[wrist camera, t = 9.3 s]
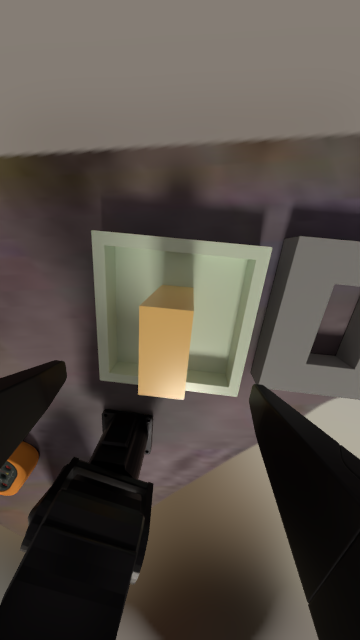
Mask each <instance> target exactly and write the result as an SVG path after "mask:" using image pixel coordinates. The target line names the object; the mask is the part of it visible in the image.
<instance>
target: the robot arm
mask: <svg viewBox="0 0 360 640" xmlns="http://www.w3.org/2000/svg"><path fill="white" fill-rule="evenodd" d="M66 378H67V373H66V365H65V362H64V361H58V360H54V361H51V362H48V363H45V364H42V365H39V366H36V367H33V368H30V369H27V370H24V371H21V372H18V373H15V374H12V375H9V376H6V377H3V378H0V469H1V468H2V466H3V465H4V464H5V463H6V461H7V460H8V459H9V457H10V456H11V455H12V454H13V452H14V451H15V450H16V449H17V447H18V446H19V445H20V443H21V442H22V441H23V440H24V438H25V437H26V436H27V434H28V433H29V432H30V431H31V429H32V428H33V427H34V426H35V424H36V423H37V422H38V420H39V419H40V418H41V417H42V415H43V414H44V413H45V411H46V410H47V409H48V407H49V406H50V404H51V403H52V401H53V399H54V398H55V396H56V395H57V393H58V392H59V390H60V389H61V387H62V386H63V384H64V382H65V381H66ZM249 404H250V409H251V414H252V419H253V424H254V429H255V434H256V438H257V441H258V445H259V447H260V451H261V454H262V457H263V461H264V464H265V467H266V470H267V474H268V477H269V480H270V483H271V486H272V489H273V493H274V496H275V499H276V503H277V506H278V509H279V512H280V515H281V518H282V522H283V525H284V528H285V532H286V535H287V538H288V541H289V545H290V548H291V551H292V554H293V558H294V560H295V564H296V567H297V570H298V574H299V577H300V580H301V583H302V586H303V590H304V593H305V596H306V599H307V602H308V603H309V604H308V606H309V610H310V613H311V616H312V619H313V622H314V626H315V629H316V632H317V636H318V639H319V640H360V459H359V458H357V457H356V456H355V455H353V454H352V453H351V452H349V451H348V450H347V449H345V448H344V447H343V446H342V445H339V443H338V442H336V441H335V440H334V439H333V438H331V437H330V436H329V435H327V434H326V433H325V432H324V431H322V430H321V429H320V428H318V427H317V426H316V425H314V424H313V423H312V422H311V421H309V420H308V419H306V418H305V417H304V416H303V415H301V414H300V413H299V412H298V411H296V410H295V409H294V408H292V407H291V406H290V405H289V404H287V403H286V402H285V401H283V400H282V399H281V398H279V397H278V396H277V395H276V394H274V393H273V392H272V391H270V390H269V389H268V388H267V387H265V386H264V385H261V384H254V385H253V386H252V390H251V394H250V398H249ZM148 419H149V420H148ZM152 426H153V417H152V416H150V415H144V414H136V413H128V412H120V411H112V410H104V411H103V413H102V427H103V434H102V436H101V438H100V440H99V442H98V444H97V446H96V448H95V450H94V452H93V454H92V456H91V458H90V460H89V462H88V463H87V462H85V461H82V460H79V458H76V457H73V459H72V460H71V462H70V463H69V465H68V464H67V465H66V466H64V467H63V469H62V470H61V472H60V474H59V475H58V477H57V479H56V480H55V482H54V483H53V485H52V486H51V487H50V488H49V490H48V491H47V492H46V493H45V494H44V496H43V497H42V498H41V499H40V500H39V502H38V503H37V504H36V505H35V506H34V508H33V509H32V510H31V512H30V514H29V516H28V525H29V527H28V529H27V531H26V534H25V537H24V540H23V542H22V545H21V548H20V551H23V552H26V553H25V555H24V557H23V559H22V561H21V563H20V565H19V567H18V569H17V571H16V573H15V575H14V577H13V579H12V581H11V583H10V585H9V587H8V589H7V590H6V592H5V594H4V597H3V599H2V602H1V605H0V640H116V636H117V631H118V628H119V624H120V620H121V616H122V613H123V609H124V605H125V601H126V597H127V593H128V589H129V585H130V584H135V582H136V580H137V578H138V575H139V573H140V569H141V567H142V563H143V559H144V555H145V551H146V545H147V541H148V535H149V527H150V516H151V505H152V493H153V483H150V482H148V483H147V482H144V481H141V480H138V478H139V474H140V470H141V466H142V462H143V458H144V454H150V452H151V444H152Z"/></svg>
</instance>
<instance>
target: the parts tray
mask: <svg viewBox="0 0 360 640" xmlns="http://www.w3.org/2000/svg"><path fill="white" fill-rule="evenodd" d="M91 236H92V253H93V271H94V288H95V305H96V323H97V340H98V357H99V374H100V380H102V381H110V382H119V383H127V384H135V385H138V369H139V306H140V305H141V304H142V303H143V302H144V301H145V300H146V299H147V298H148V297H149V296H150V295H151V294H153V293H154V292H155V291H156V290H157V289H158V288H159V287H160V286H161V285H171V286H181V287H192V288H194V315H193V324H192V333H191V341H190V350H189V359H188V368H187V377H186V386H185V391H193V392H202V393H210V394H218V395H226V396H235V397H237V395H238V391H239V387H240V382H241V378H242V374H243V370H244V365H245V361H246V357H247V353H248V349H249V344H250V340H251V336H252V332H253V327H254V323H255V319H256V315H257V311H258V306H259V302H260V298H261V294H262V290H263V285H264V281H265V277H266V273H267V268H268V264H269V260H270V256H271V252H272V247H264V246H254V245H243V244H232V243H222V242H211V241H201V240H190V239H179V238H169V237H158V236H148V235H137V234H127V233H116V232H105V231H95V230H91Z"/></svg>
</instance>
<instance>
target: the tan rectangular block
mask: <svg viewBox="0 0 360 640" xmlns="http://www.w3.org/2000/svg"><path fill="white" fill-rule="evenodd" d="M193 315H194V288H192V287H181V286H171V285H161V286H160V287H159V288H158V289H157V290H156V291H155V292H154V293H153V294H151V295H150V296H149V297H148V298H147V299H146V300H145V301H144V302H143V303H142V304H141V305H140V306H139V369H138V395H146V396H154V397H163V398H172V399H180V400H184V395H185V386H186V377H187V368H188V359H189V350H190V341H191V333H192V324H193Z"/></svg>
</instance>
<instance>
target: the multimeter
mask: <svg viewBox="0 0 360 640" xmlns="http://www.w3.org/2000/svg"><path fill="white" fill-rule="evenodd" d="M38 459H39V455H38V452H37V450H36V449H35V448H34V447H33V446H32V445H30V444H28V443H26V442H24V441H22V442H21V443H20V445H19V446H18V447H17V449H16V450H15V451H14V452H13V454H12V455H11V456H10V457H9V459H8V460H7V461H6V463H5V464H4V465H3V466H2V468H1V469H0V495H5V496H8V495H13V494H16V493H17V492H18V491H19V489H20V488H21V487H22V485H23V484H24V482H25V481H26V480H27V478H28V477H29V475H30V474H31V472H32V471H33V469H34V468H35V466H36V464H37V462H38Z"/></svg>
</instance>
